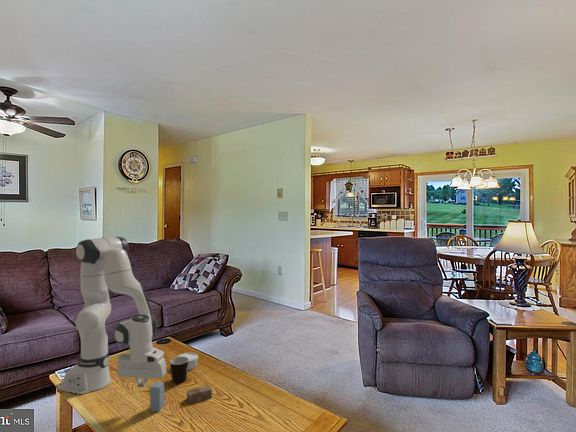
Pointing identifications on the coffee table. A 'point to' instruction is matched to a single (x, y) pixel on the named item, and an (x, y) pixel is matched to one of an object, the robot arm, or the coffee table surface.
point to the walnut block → (199, 394)
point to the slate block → (157, 396)
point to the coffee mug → (179, 369)
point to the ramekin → (190, 359)
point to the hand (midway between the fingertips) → (141, 386)
